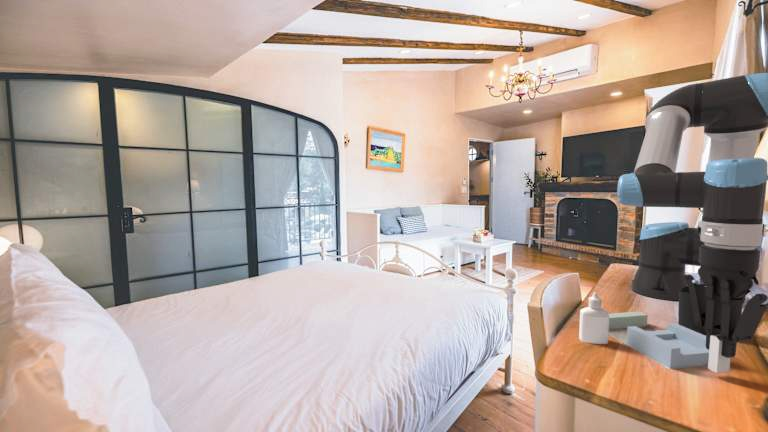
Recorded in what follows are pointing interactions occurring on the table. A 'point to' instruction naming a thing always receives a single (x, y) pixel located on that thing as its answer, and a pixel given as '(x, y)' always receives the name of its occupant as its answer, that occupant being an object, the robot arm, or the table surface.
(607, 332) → the eye dropper bottle
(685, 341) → the cradle block
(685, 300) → the pen holder
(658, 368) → the table surface
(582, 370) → the table surface
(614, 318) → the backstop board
